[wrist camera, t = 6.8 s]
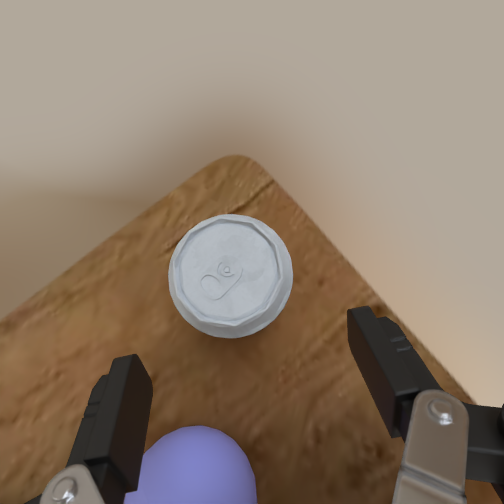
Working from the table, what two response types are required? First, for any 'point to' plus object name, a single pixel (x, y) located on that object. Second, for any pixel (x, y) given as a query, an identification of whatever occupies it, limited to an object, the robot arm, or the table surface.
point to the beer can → (230, 276)
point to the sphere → (195, 470)
